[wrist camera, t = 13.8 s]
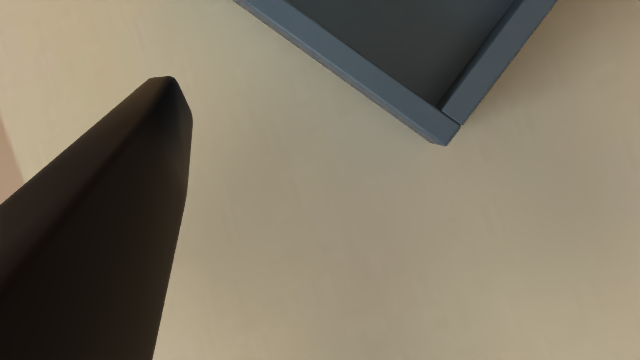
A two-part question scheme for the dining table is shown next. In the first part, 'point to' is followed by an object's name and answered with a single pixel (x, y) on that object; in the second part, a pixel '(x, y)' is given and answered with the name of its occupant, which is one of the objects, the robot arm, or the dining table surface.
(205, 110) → the dining table surface
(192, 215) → the dining table surface
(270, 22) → the tub
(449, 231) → the dining table surface
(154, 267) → the robot arm
